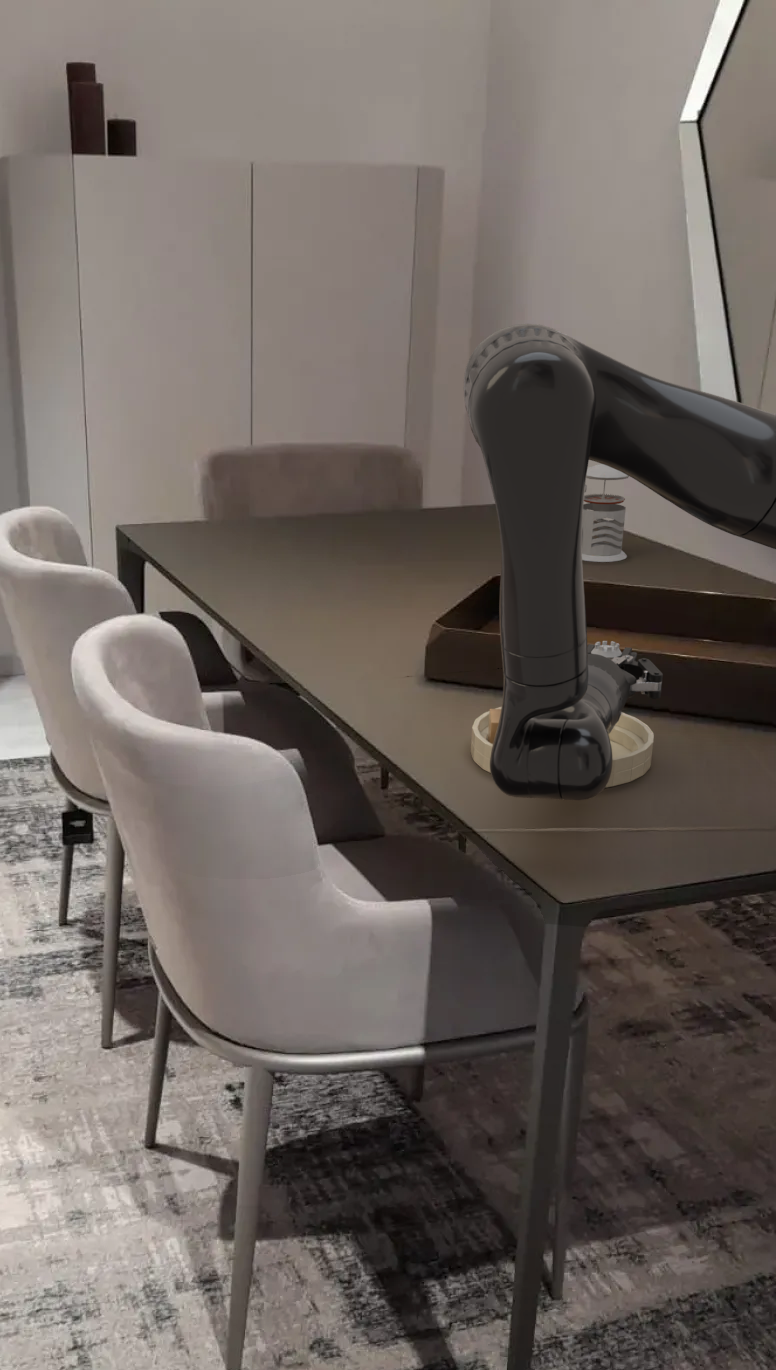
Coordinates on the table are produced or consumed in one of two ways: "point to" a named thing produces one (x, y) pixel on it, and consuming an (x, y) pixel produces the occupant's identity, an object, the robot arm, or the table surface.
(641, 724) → the round cream tray
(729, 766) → the table surface
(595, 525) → the french press
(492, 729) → the block
